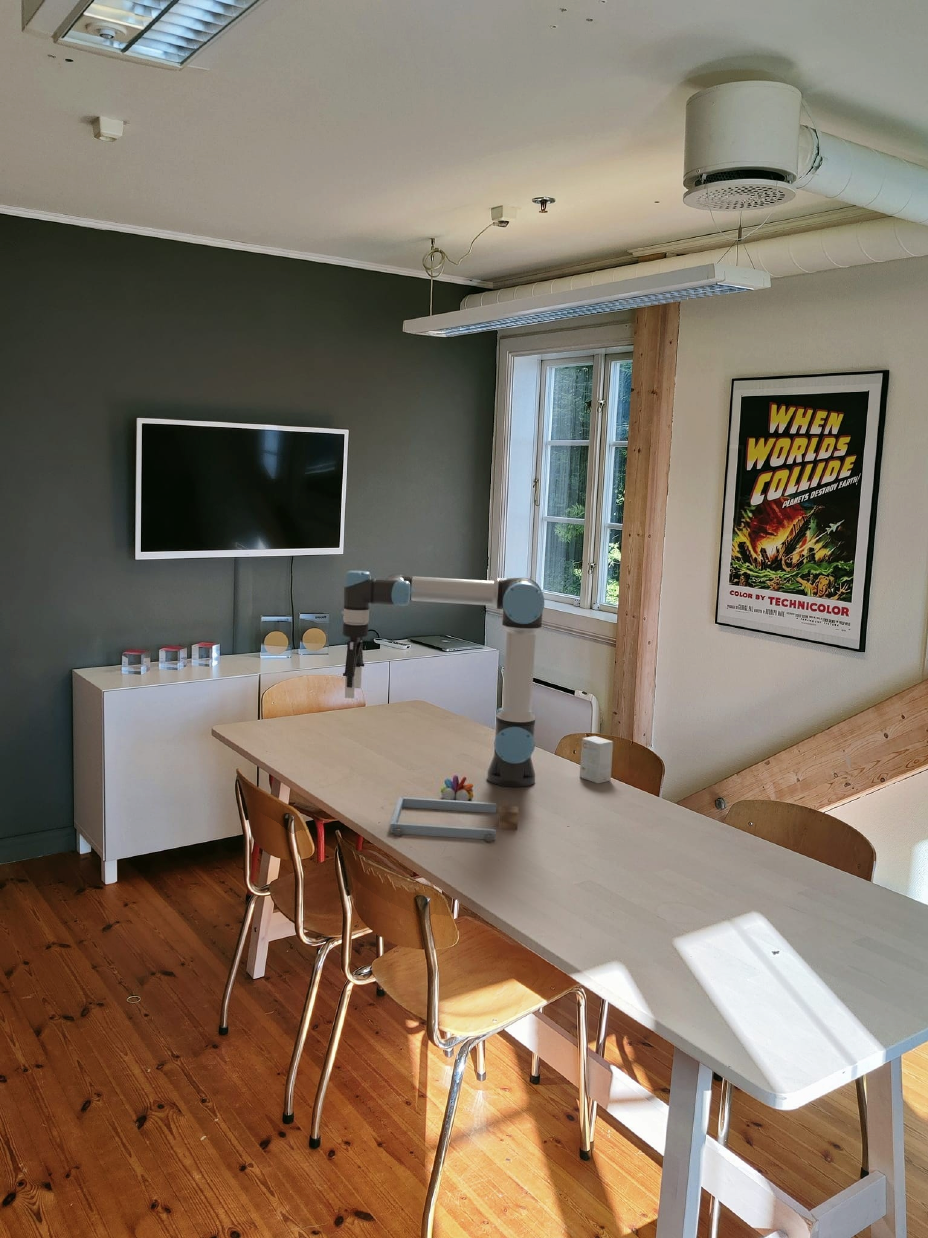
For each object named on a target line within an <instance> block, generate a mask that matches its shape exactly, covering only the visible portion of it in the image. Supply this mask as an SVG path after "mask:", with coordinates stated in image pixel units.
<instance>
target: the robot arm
mask: <svg viewBox="0 0 928 1238" xmlns="http://www.w3.org/2000/svg"><path fill="white" fill-rule="evenodd" d="M411 601H416V602H428V603H431V602H432V603H447V604H460V605H461V604H463V605H476V606H477V605H478V606H491V607H492V606H493V608H494V609H495V610H502V619H501V620H502V622H501V624H502V625H501V626H502V627H503V628H504V629H505V631H506V638H505V639H506V640H505V643H506V644H505V657H504V670H503V671H504V675H503V686H502V687H503V688H502V689H503V690H502V705H501V707H499V708H498V709H497V710H496V715H495V733H494V734H495V735H494V741H493V744H494V750H493V751H494V752H493V756H492V759H491V762H490V764H489V767H488V769H487V775H486V776H487V777H486V779H487V780H488V781H489V782H490V783H492V784H495V785H499V786H501V787H502V786H503V787H507V788H508V787H510V788H521V787H528V786H532V785H533V784H535V783H536V773H535V767H534V764H533V760H532V755H533V752H534V751H535V748H536V747H535V746H536V742H535V731H536V728H535V727H536V716H535V714H534V711H533V710H532V700H533V699H532V698H533V696H532V695H533V681H534V670H535V669H534V667H535V654H536V653H535V651H536V640H537V639H536V637H537V633H538V631H540V630H541V629H542V627H543V626H542V624H543V611H544V608H545V597H544V594H543V592H542V589H541V587H540V586H539V584H538V583H537V582H536V581H535V580H533V579H531V578H530V577H529V578H528V577H509V578H508V577H507V578H505V577H496V579H495V580H484V579H481V580H480V579H464V578H445V577H429V576H428V577H427V576H415V575H413V576H412V575H411V576H410V575H402V574H399V573H398V574H395V573H394V574H391V575H388V577H386V579H384V578H383V579H382V578H373V577H372V576H371V572H370V571H366V570H349V571H347V572H346V573H345V575H344V585H343V610H342V611H341V614H342V615H343V617H342V618H343V624H342V635H343V636H344V637H346V638H347V637H348V638H349V641H347V643H346V645H347V648H346V649H347V650H346V658H345V666H344V667H345V669H344V672H343V673H342V677H345V679H344V681H345V683H344V685H345V686H344V698H345V699H355V689H362V675H363V674H362V673H363V672H362V671H363V668H364V667H365V663H364V659H363V658H364V657H363V654H364V653H363V652H364V651H363V638H367V636H369V624H368V623H369V621H370V605H383V606H384V605H385V606H395V607H400V606H403V607H404V606H405V607H406V606H409V604H410V602H411Z"/></svg>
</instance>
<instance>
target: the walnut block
mask: <svg viewBox="0 0 928 1238" xmlns="http://www.w3.org/2000/svg"><path fill="white" fill-rule="evenodd" d="M498 813H499V814H498V816H499V817H498V829H499V830H510V831H511V830H513V831H518V822H519V820H518V819H519V806H517V805H515V806H513V805H512V806H511V805H499V812H498Z"/></svg>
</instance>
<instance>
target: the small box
mask: <svg viewBox="0 0 928 1238" xmlns="http://www.w3.org/2000/svg"><path fill="white" fill-rule="evenodd" d="M613 749H614V741H613V740H610V739H605V738H603V737H599V736H596V735H592V736H588V737H582V738H581V752H580V762H579V763H580V764H579V765H580V766H579V778H582V779H584V780H587V781H590V782H593V783H595V784H601V783H606V782H608V781H611V777H612V765H613V764H612V762H613Z"/></svg>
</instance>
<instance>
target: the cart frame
mask: <svg viewBox="0 0 928 1238" xmlns="http://www.w3.org/2000/svg"><path fill="white" fill-rule="evenodd" d="M404 808H412V809H413V808H414V809H430V810H442V811H443V810H446V811H460V812H473V813H474V812H476V813H477V812H478V813H490V814H497V813H496V812H497V803H496V802H483V801H469V800H468V801H457V800H456V799H454V800H444V799H439V798H438V799H436V798H420V797H407V796H405V797H404V796H399V797H398V800H397V802H396V806H395V808H394V812H393V815H392V817H391V821H390V824H389V825H390V826H389V833H390V834H393V836H394V837H402V835H416V836H431V837H447V838H461V839H475V840H484V842H486V843H489V844H490V843H493V841H496V832H497V831H496V829H494V828H485V827H483V828H481V827H465V826H451V825H435V824H421V823H420V824H419V823H406V822H399V820H400V817H401V814H402V809H404Z"/></svg>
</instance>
